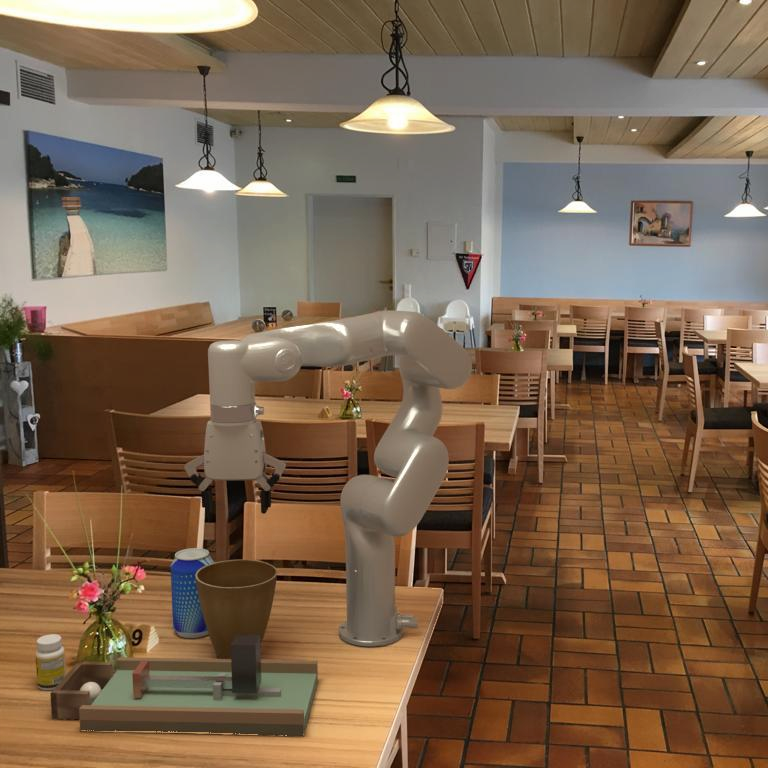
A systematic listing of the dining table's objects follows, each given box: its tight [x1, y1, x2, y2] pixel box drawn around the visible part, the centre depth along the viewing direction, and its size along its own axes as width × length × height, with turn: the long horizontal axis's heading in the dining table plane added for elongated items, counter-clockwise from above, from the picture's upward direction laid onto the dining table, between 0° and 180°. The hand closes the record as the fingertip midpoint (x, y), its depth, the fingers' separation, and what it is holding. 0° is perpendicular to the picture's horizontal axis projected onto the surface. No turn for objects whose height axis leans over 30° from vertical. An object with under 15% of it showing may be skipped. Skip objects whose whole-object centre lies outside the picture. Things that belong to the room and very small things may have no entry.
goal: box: [50, 661, 114, 721], centre depth 146 cm, size 6×11×4 cm, turn 177°
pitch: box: [79, 656, 319, 737], centre depth 145 cm, size 35×18×5 cm, turn 87°
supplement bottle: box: [34, 633, 67, 691], centre depth 152 cm, size 5×5×8 cm
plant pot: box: [195, 559, 278, 659], centre depth 163 cm, size 15×15×16 cm
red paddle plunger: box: [132, 634, 262, 698], centre depth 144 cm, size 20×5×9 cm, turn 87°
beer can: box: [170, 547, 215, 639], centre depth 173 cm, size 8×8×16 cm
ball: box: [80, 682, 102, 705], centre depth 146 cm, size 4×4×4 cm
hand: (236, 511), depth 152 cm, fingers open, 9 cm apart
